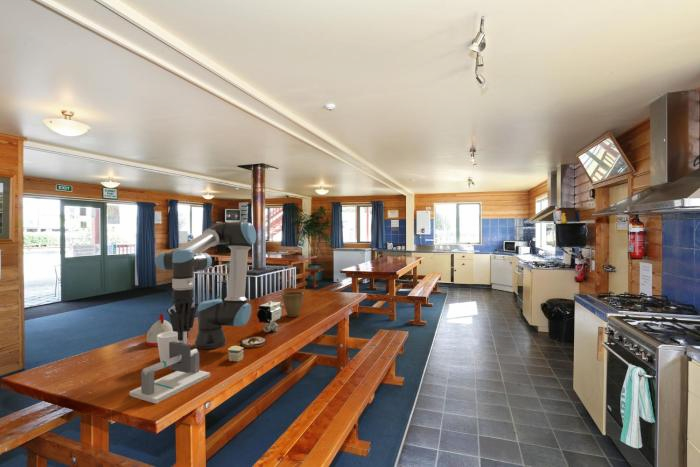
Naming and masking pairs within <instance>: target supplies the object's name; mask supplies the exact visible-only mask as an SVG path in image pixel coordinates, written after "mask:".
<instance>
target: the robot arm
mask: <svg viewBox="0 0 700 467" xmlns="http://www.w3.org/2000/svg"><path fill="white" fill-rule="evenodd" d="M256 242H257V231H256V229H255V226H254V225H253V224H252V223H251V222H242V221H241V222H240V221H239V222H227V221H226V222H221V223H218V224H214V225H213V226H211V227H208V228H206V229H205V230H203V232H202V233H201V234H200V235H199V236H196V237H195V238H193V239H191V240H190V241H188V242H186V243H184V244H182V245H180V246H178V247H177V248H175V249H174V250H171V251H170V252H160V253H159V254H157V256H156V257H155V260H154V262H155V266H156V268H157V269H158V270H161V271H167V272H168V271H172V282H171V283H172V285H171V287H172V300H173V302H172V304H171V305H172V306H171V307H170V308H167V309H166V312H167V313H168V315H169V321H170V324H171V325H172V329H173V331H175V332H178V340H179V343H184V344H188V338H189V332H190V331H191V329H192V328H194V322H195V317H196V312H197V320H198V321H197V326H198V328H197V329H198V331H197V334H196V338H195V341H194V349H197V350H214V349H217V348H220V347H223V346H224V345H226V343H227V341H226V340H227V338H226V336H225V333H224V330H223V326H224V327H225V326H227V327H244V326H245V325H247V324H248V322H249V320H250V319H251V315H252V306H251V304H250V303H249V302H248V298H247V297H246V287H247V286H246V285H247V272H248V271H247V270H248V269H247V268H248V256H249V251H250V250H251V249H252V245H255V244H256ZM217 245H227V246H228V248H229V249H230V258H229V259H230V261H229V272H228V273H229V274H228V284H227V285H228V288H227V296H226V297H225V298H224V300H223V299H221V298H216V299H210V300H204V301H202V302H200V303H196V302H194V300H193V298H194V288H193V287H194V272H199V271H202V272H203V271H205V270H207V269H209V268H210V267H212V266H211V265H212V263H213V259H212V256H211V255H210V254H209V253H207V252H205V251H206V250H208V249H209V248H211V247H213V248H214V247H215V246H217Z"/></svg>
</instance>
